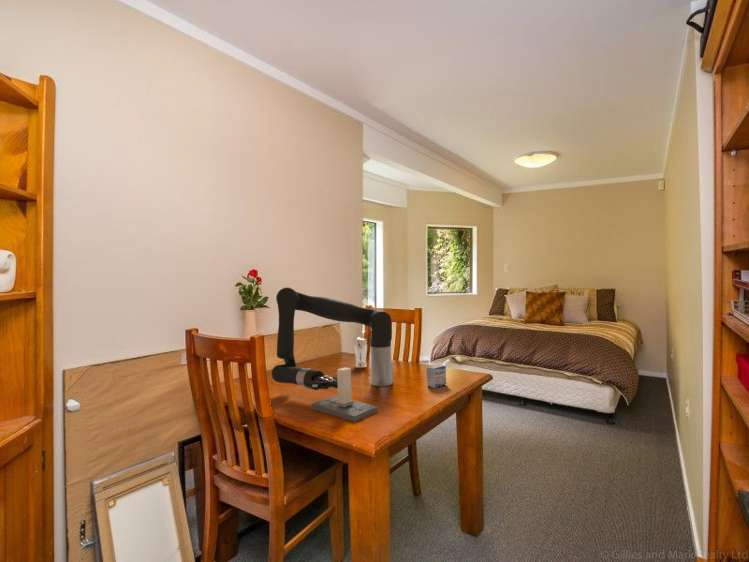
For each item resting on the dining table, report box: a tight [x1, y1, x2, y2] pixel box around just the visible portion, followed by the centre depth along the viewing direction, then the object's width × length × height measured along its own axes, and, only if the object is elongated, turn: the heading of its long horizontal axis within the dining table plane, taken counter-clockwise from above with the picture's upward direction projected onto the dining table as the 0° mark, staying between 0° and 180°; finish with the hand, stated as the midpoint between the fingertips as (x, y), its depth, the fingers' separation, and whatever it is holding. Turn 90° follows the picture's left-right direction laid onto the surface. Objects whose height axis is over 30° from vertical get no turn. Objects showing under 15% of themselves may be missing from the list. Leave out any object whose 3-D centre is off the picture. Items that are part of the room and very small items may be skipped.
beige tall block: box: [336, 367, 355, 407], centre depth 142 cm, size 5×4×13 cm
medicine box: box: [426, 364, 447, 389], centre depth 171 cm, size 8×4×9 cm, turn 129°
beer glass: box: [353, 337, 368, 369], centre depth 211 cm, size 7×7×15 cm
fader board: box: [310, 395, 378, 423], centre depth 143 cm, size 12×22×2 cm, turn 51°
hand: (341, 385), depth 143 cm, fingers closed
